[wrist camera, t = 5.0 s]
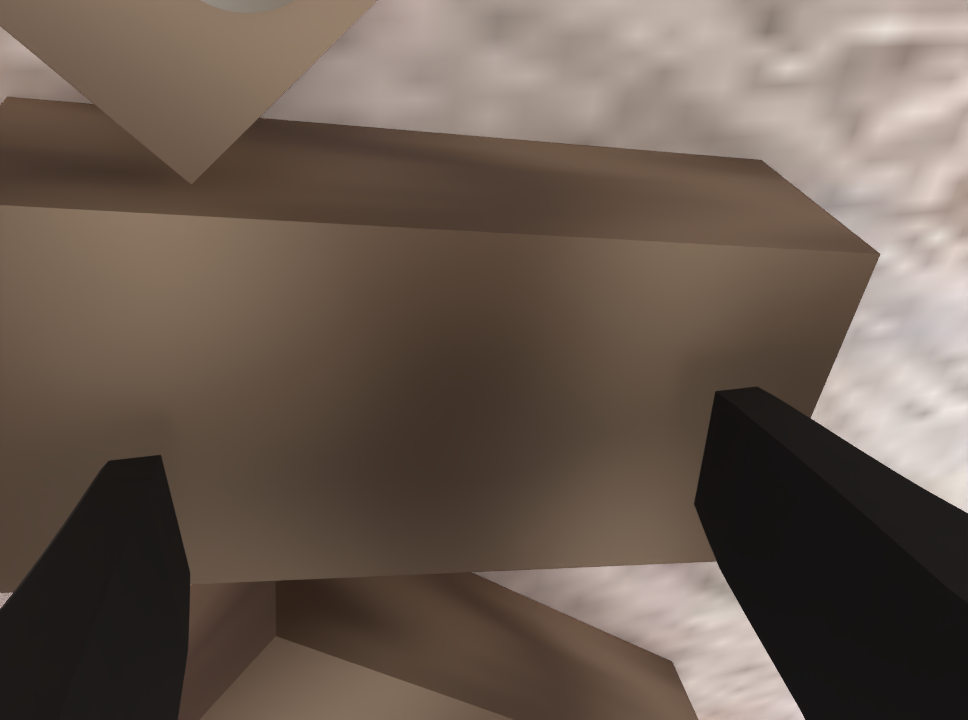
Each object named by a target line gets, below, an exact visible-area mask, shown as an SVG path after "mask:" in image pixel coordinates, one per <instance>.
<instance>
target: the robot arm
mask: <svg viewBox="0 0 968 720" xmlns="http://www.w3.org/2000/svg"><path fill="white" fill-rule="evenodd" d="M694 506H695V508H696V511H697V513H698V516H699V519H700V521H701V524H702V526H703V529H704V532H705V534H706V537H707V539H708V542H709V544H710V547H711V549H712V551H713V554H714V556H715V558H716V561H717V563H718V565H719V568H720V570H721V572H722V573H723V575H724V577H725V579H726V581H727V583H728V584H729V586H730V588H731V590H732V592H733V593H734V595H735V597H736V599H737V600H738V602H739V604H740V606H741V608H742V609H743V611H744V613H745V615H746V616H747V618H748V620H749V622H750V623H751V625H752V627H753V629H754V630H755V632H756V634H757V636H758V637H759V639H760V641H761V642H762V644H763V646H764V648H765V649H766V651H767V653H768V655H769V656H770V658H771V660H772V662H773V663H774V665H775V667H776V668H777V670H778V672H779V674H780V675H781V677H782V679H783V681H784V682H785V684H786V686H787V688H788V689H789V691H790V693H791V695H792V696H793V698H794V700H795V701H796V703H797V705H798V707H799V708H800V710H801V712H802V714H803V716H804V718H805V720H968V513H966V512H964V511H963V510H961V509H959V508H957V507H955V506H954V505H952V504H950V503H948V502H946V501H945V500H943V499H941V498H939V497H937V496H936V495H934V494H932V493H930V492H928V491H927V490H925V489H923V488H922V487H920V486H918V485H917V484H915V483H913V482H911V481H910V480H908V479H906V478H905V477H903V476H901V475H900V474H898V473H896V472H895V471H893V470H891V469H890V468H888V467H887V466H885V465H883V464H882V463H880V462H878V461H877V460H875V459H874V458H872V457H870V456H869V455H867V454H866V453H864V452H862V451H861V450H859V449H858V448H856V447H854V446H853V445H851V444H850V443H848V442H847V441H845V440H843V439H842V438H840V437H839V436H837V435H836V434H834V433H832V432H831V431H829V430H828V429H826V428H825V427H823V426H822V425H820V424H818V423H817V422H815V421H814V420H812V419H811V418H809V417H807V416H806V415H804V414H803V413H801V412H800V411H798V410H796V409H795V408H793V407H792V406H790V405H788V404H787V403H785V402H784V401H782V400H780V399H779V398H777V397H775V396H774V395H772V394H770V393H768V392H767V391H765V390H763V389H761V388H759V387H757V386H756V387H747V388H739V389H730V390H721V391H715V395H714V401H713V406H712V411H711V417H710V422H709V427H708V432H707V438H706V443H705V448H704V454H703V459H702V464H701V469H700V475H699V480H698V485H697V491H696V496H695V501H694ZM189 616H190V569H189V565H188V561H187V557H186V553H185V549H184V545H183V541H182V537H181V533H180V529H179V525H178V521H177V517H176V513H175V509H174V505H173V501H172V497H171V493H170V489H169V485H168V481H167V477H166V473H165V469H164V465H163V461H162V457H161V455H154V456H145V457H136V458H127V459H119V460H110V461H108V462H107V463H106V464H105V465H104V466H103V467H102V468H101V470H100V471H99V473H98V474H97V476H96V477H95V479H94V480H93V481H92V483H91V484H90V486H89V487H88V489H87V490H86V492H85V493H84V495H83V496H82V498H81V499H80V501H79V502H78V504H77V505H76V507H75V508H74V510H73V511H72V513H71V514H70V515H69V517H68V518H67V520H66V521H65V523H64V524H63V526H62V527H61V528H60V530H59V531H58V533H57V534H56V535H55V537H54V538H53V540H52V541H51V543H50V544H49V545H48V547H47V548H46V549H45V551H44V552H43V554H42V555H41V556H40V558H39V559H38V560H37V562H36V563H35V564H34V566H33V567H32V568H31V570H30V571H29V572H28V574H27V575H26V576H25V578H24V579H23V580H22V582H21V583H20V584H19V586H18V587H17V588H16V590H15V591H14V592H13V594H12V595H11V596H10V598H9V599H8V600H7V601H6V603H5V604H4V605H3V607H2V608H1V609H0V720H178V715H179V709H180V702H181V695H182V688H183V682H184V675H185V668H186V661H187V654H188V643H189Z"/></svg>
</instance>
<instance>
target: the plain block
mask: <svg viewBox="0 0 968 720" xmlns="http://www.w3.org/2000/svg"><path fill="white" fill-rule="evenodd" d="M879 256H880V253H878V252H877V251H876V250H875V249H873V248H872V247H871V246H870V245H868V244H867V243H866V242H864V241H863V240H862V239H861V238H859V237H858V236H857V235H856V234H854V233H853V232H852V231H851V230H849V229H848V228H847V227H845V226H844V225H843V224H842V223H840V222H839V221H838V220H837V219H835V218H834V217H833V216H832V215H830V214H829V213H828V212H826V211H825V210H824V209H823V208H821V207H820V206H819V205H818V204H816V203H815V202H814V201H812V200H811V199H810V198H809V197H807V196H806V195H805V194H804V193H802V192H801V191H800V190H799V189H797V188H796V187H795V186H793V185H792V184H791V183H790V182H788V181H787V180H786V179H785V178H783V177H782V176H781V175H779V174H778V173H777V172H776V171H774V170H773V169H772V168H771V167H769V166H768V165H767V164H766V163H764V162H763V161H762V160H753V159H741V158H730V157H718V156H706V155H694V154H682V153H670V152H658V151H646V150H634V149H622V148H610V147H598V146H586V145H574V144H563V143H551V142H539V141H527V140H515V139H503V138H491V137H479V136H467V135H455V134H443V133H431V132H419V131H407V130H396V129H384V128H372V127H360V126H348V125H336V124H324V123H312V122H300V121H288V120H276V119H264V118H258V119H257V120H256V121H255V122H254V123H253V124H252V125H251V126H250V127H249V128H248V129H247V130H246V131H245V132H244V133H243V134H242V135H241V136H240V137H239V138H238V139H237V140H236V141H235V142H234V143H233V144H232V145H231V146H230V147H229V148H228V149H227V150H226V151H225V152H224V153H223V154H222V155H221V156H220V157H219V158H218V159H217V160H216V161H215V162H214V163H213V164H212V165H211V166H210V167H209V168H208V169H207V170H206V171H205V172H204V173H203V174H202V175H201V176H200V177H199V178H198V179H197V180H196V181H195V182H194V183H193V184H190V183H189V182H187V181H186V180H185V179H184V178H183V177H181V176H180V175H179V174H178V173H177V172H175V171H174V170H173V169H172V168H171V167H169V166H168V165H167V164H166V163H165V162H163V161H162V160H161V159H160V158H159V157H157V156H156V155H155V154H154V153H153V152H151V151H150V150H149V149H148V148H147V147H145V146H144V145H143V144H142V143H140V142H139V141H138V140H137V139H136V138H134V137H133V136H132V135H131V134H130V133H128V132H127V131H126V130H125V129H124V128H122V127H121V126H120V125H119V124H118V123H116V122H115V121H114V120H113V119H112V118H110V117H109V116H108V115H107V114H106V113H104V112H103V111H102V110H101V109H100V108H98V107H97V106H96V105H95V104H85V103H73V102H62V101H50V100H38V99H26V98H14V97H7V98H6V99H5V100H4V102H3V103H2V104H1V105H0V593H6V592H14V591H15V590H16V588H17V587H18V586H19V584H20V583H21V582H22V580H23V579H24V578H25V576H26V575H27V574H28V572H29V571H30V570H31V568H32V567H33V566H34V564H35V563H36V562H37V560H38V559H39V558H40V556H41V555H42V554H43V552H44V551H45V549H46V548H47V547H48V545H49V544H50V543H51V541H52V540H53V538H54V537H55V535H56V534H57V533H58V531H59V530H60V528H61V527H62V526H63V524H64V523H65V521H66V520H67V518H68V517H69V515H70V514H71V513H72V511H73V510H74V508H75V507H76V505H77V504H78V502H79V501H80V499H81V498H82V496H83V495H84V493H85V492H86V490H87V489H88V487H89V486H90V484H91V483H92V481H93V480H94V479H95V477H96V476H97V474H98V473H99V471H100V470H101V468H102V467H103V466H104V465H105V464H106V463H107V462H108V461H110V460H119V459H127V458H136V457H145V456H154V455H161V457H162V461H163V465H164V469H165V473H166V477H167V481H168V485H169V489H170V493H171V497H172V501H173V505H174V509H175V513H176V517H177V521H178V525H179V529H180V533H181V537H182V541H183V545H184V549H185V553H186V557H187V561H188V565H189V569H190V584H212V583H235V582H257V581H280V580H303V579H326V578H349V577H372V576H394V575H417V574H440V573H463V572H486V571H509V570H531V569H554V568H577V567H600V566H623V565H646V564H668V563H691V562H714V561H716V558H715V556H714V554H713V551H712V549H711V547H710V544H709V542H708V539H707V537H706V534H705V532H704V529H703V526H702V524H701V521H700V519H699V516H698V513H697V511H696V508H695V506H694V501H695V496H696V491H697V485H698V480H699V475H700V469H701V464H702V459H703V454H704V448H705V443H706V438H707V432H708V427H709V422H710V417H711V411H712V406H713V401H714V395H715V391H721V390H730V389H739V388H747V387H756V386H757V387H759V388H761V389H763V390H765V391H767V392H768V393H770V394H772V395H774V396H775V397H777V398H779V399H780V400H782V401H784V402H785V403H787V404H788V405H790V406H792V407H793V408H795V409H796V410H798V411H800V412H801V413H803V414H804V415H806V416H807V417H809V418H811V416H812V413H813V411H814V408H815V406H816V404H817V401H818V399H819V397H820V394H821V392H822V390H823V387H824V385H825V383H826V380H827V378H828V376H829V373H830V371H831V369H832V366H833V364H834V362H835V359H836V357H837V354H838V352H839V350H840V347H841V345H842V343H843V340H844V338H845V336H846V333H847V331H848V329H849V326H850V324H851V322H852V319H853V317H854V315H855V312H856V310H857V308H858V305H859V303H860V300H861V298H862V296H863V293H864V291H865V289H866V286H867V284H868V282H869V279H870V277H871V275H872V272H873V270H874V268H875V265H876V263H877V261H878V258H879Z"/></svg>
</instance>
